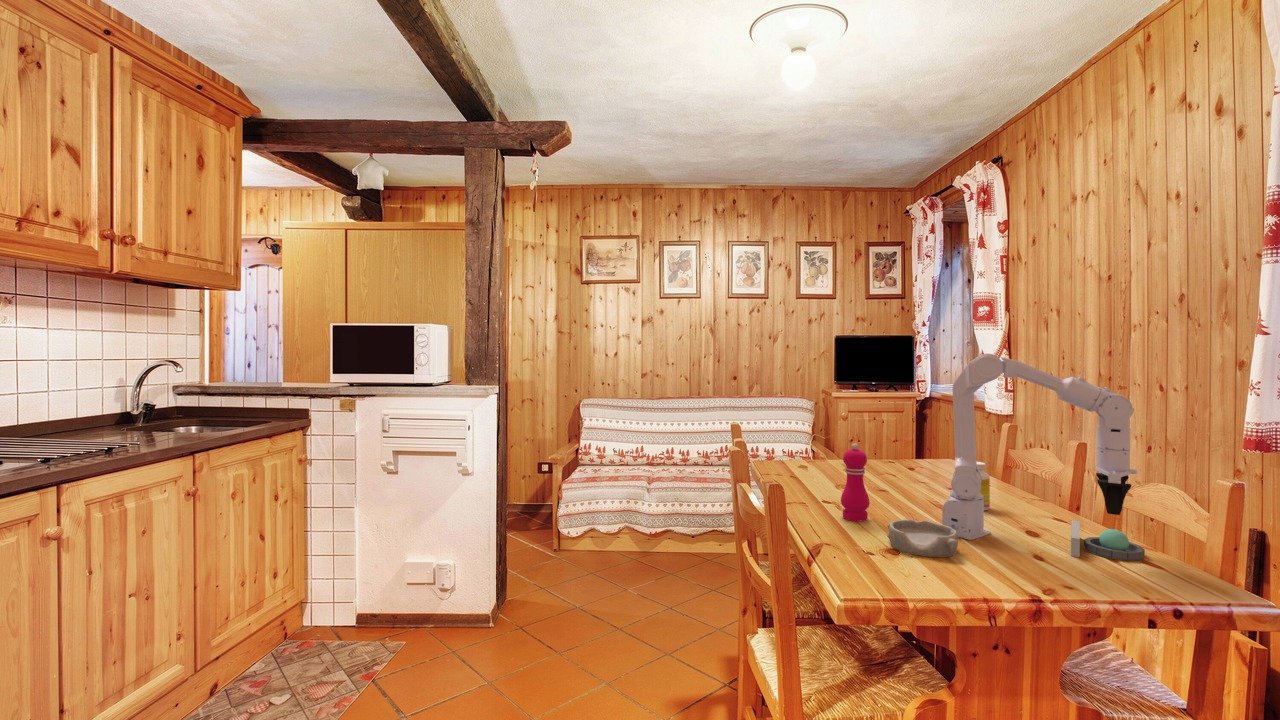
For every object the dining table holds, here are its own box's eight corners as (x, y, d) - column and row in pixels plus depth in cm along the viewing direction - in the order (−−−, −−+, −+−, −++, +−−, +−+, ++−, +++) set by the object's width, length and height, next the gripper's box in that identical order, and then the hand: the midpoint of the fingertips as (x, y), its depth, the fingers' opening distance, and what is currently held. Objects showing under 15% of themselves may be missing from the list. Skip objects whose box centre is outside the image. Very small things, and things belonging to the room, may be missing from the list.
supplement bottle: (995, 509, 161) (995, 464, 160) (978, 512, 158) (978, 465, 158) (973, 504, 167) (973, 459, 167) (956, 506, 164) (957, 461, 164)
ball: (1123, 561, 123) (1124, 544, 121) (1095, 551, 127) (1095, 534, 125) (1132, 547, 125) (1133, 530, 123) (1104, 537, 130) (1105, 521, 127)
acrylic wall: (1079, 557, 124) (1079, 539, 124) (1070, 556, 125) (1070, 537, 125) (1079, 537, 136) (1079, 521, 136) (1071, 536, 137) (1071, 519, 137)
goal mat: (1133, 564, 120) (1133, 555, 120) (1076, 550, 128) (1076, 542, 128) (1150, 554, 125) (1150, 546, 125) (1095, 542, 133) (1095, 534, 133)
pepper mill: (835, 515, 156) (834, 442, 156) (857, 513, 159) (857, 440, 158) (852, 523, 149) (852, 446, 149) (875, 520, 152) (875, 444, 151)
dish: (966, 561, 122) (966, 538, 122) (896, 557, 125) (896, 534, 125) (944, 539, 137) (944, 518, 136) (882, 536, 139) (882, 515, 139)
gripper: (1140, 455, 118) (1139, 521, 118) (1134, 445, 130) (1134, 505, 130) (1096, 451, 122) (1095, 515, 123) (1094, 442, 134) (1094, 500, 134)
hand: (1112, 510), depth 126 cm, fingers open, 7 cm apart
